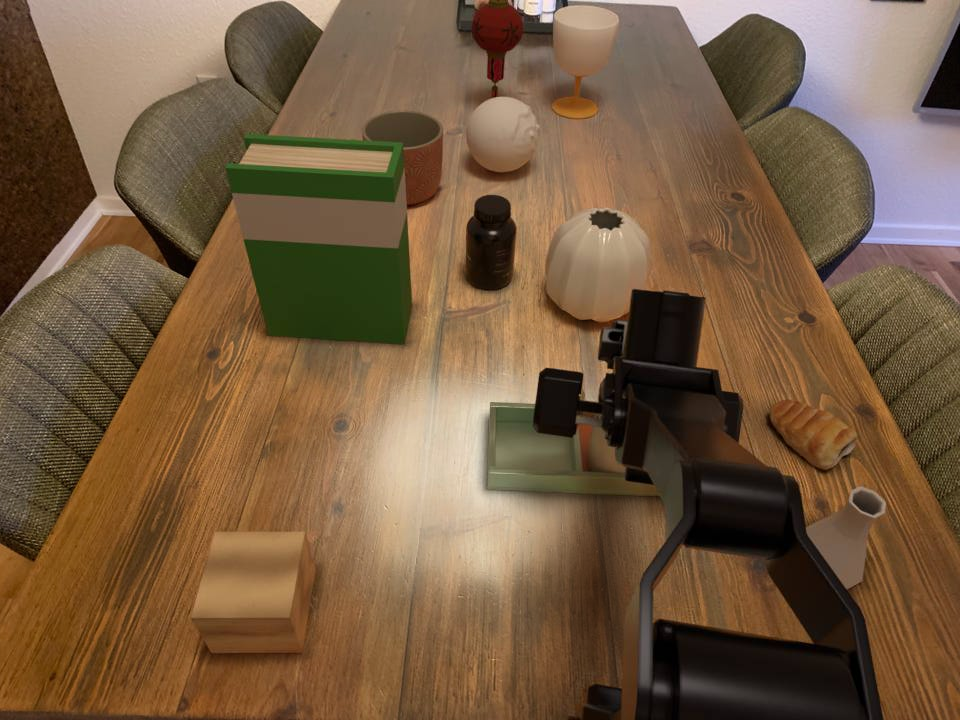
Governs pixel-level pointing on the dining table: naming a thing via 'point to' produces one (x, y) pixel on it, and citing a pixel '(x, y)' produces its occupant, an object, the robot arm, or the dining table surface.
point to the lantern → (497, 35)
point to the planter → (412, 148)
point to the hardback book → (326, 236)
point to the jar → (601, 448)
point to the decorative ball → (502, 134)
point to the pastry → (813, 432)
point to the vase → (597, 264)
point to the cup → (582, 51)
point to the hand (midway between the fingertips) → (625, 407)
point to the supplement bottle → (490, 243)
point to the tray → (546, 458)
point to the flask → (848, 534)
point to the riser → (255, 593)
